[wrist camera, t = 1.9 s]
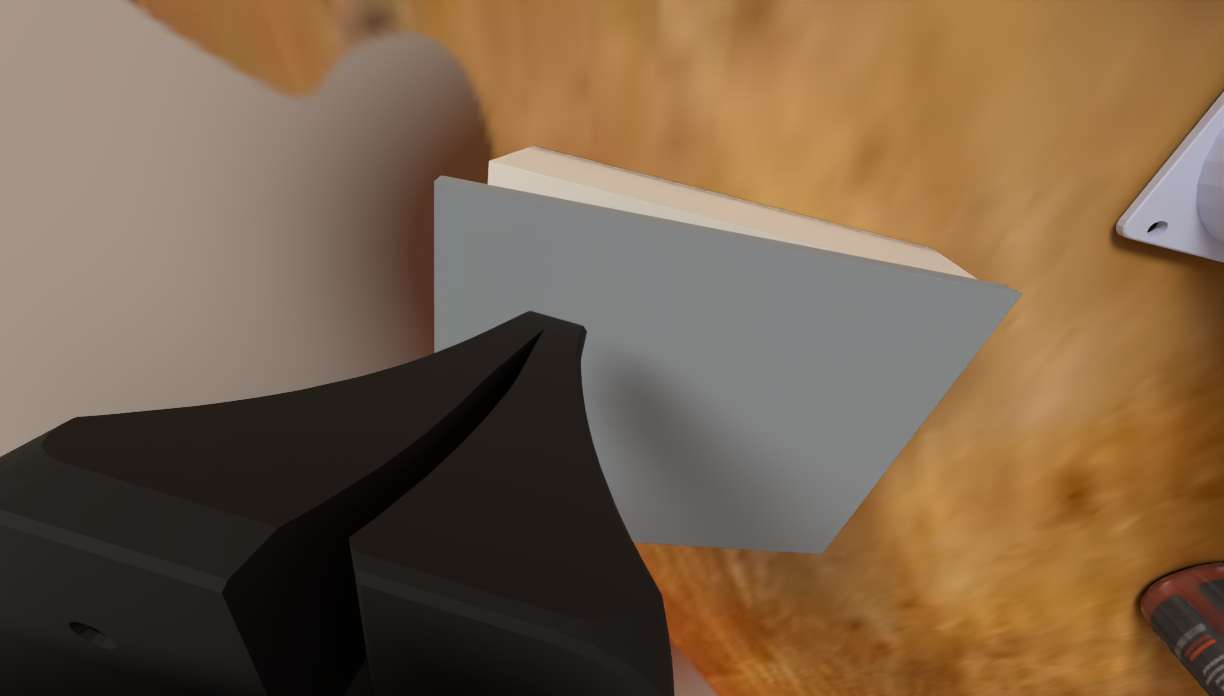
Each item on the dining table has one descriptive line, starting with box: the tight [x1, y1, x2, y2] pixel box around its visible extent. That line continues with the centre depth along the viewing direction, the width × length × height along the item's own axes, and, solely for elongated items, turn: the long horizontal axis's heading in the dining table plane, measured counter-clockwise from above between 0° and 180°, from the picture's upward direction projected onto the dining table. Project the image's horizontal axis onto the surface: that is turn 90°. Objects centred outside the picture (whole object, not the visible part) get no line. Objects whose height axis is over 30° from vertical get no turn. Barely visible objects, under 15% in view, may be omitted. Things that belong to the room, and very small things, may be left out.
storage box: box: [488, 146, 976, 279], centre depth 19 cm, size 16×12×4 cm
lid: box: [434, 176, 1022, 554], centre depth 15 cm, size 16×13×1 cm
